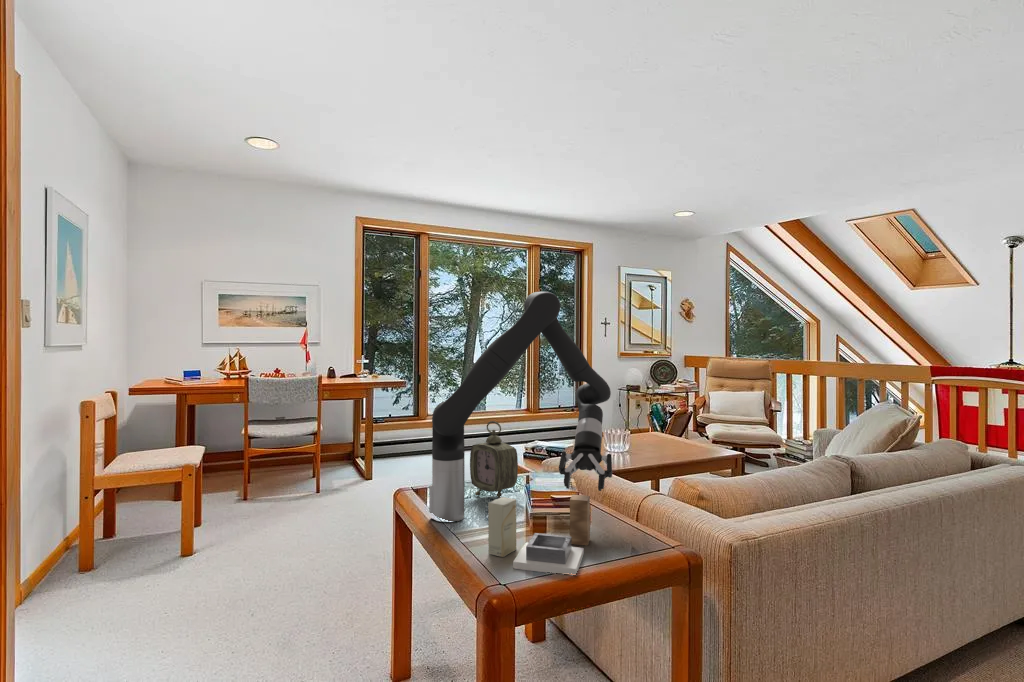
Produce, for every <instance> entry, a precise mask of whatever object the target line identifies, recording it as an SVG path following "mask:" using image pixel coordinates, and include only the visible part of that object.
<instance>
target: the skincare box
mask: <svg viewBox="0 0 1024 682" xmlns="http://www.w3.org/2000/svg"><path fill="white" fill-rule="evenodd" d="M487 504H488V507H487V508H488V516H487V519H488V529H487V531H488V536H487V537H488V554H489V555H493V556H497V557H500V558H504V557H506V556H508V555H509V554H511V553H512V552H514V551H516V550H517V499H515V498H510V497H504V496H501V497H500V498H498V497H497V498H496V499H493V500H491V501H489V502H488V503H487Z"/></svg>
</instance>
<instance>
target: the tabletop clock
mask: <svg viewBox="0 0 1024 682" xmlns="http://www.w3.org/2000/svg"><path fill="white" fill-rule="evenodd" d="M490 424H495V425H496V426H498V427H499V431H497V432H496V430H495V429H492V431H491V430H490V429H489V425H490ZM486 430H487V432H488V433H489V434H490V435H489V436H488V437H487V438H486V440H485V442H482V443H481V442H480V443H475V444H472V446H471V448H470V453H469V454H470V455H469V474H470V481H471V484H472V485H473V486H474V487H476V488H477V489H479V490H477V491H475V493H474V494H475V496H476V495H481V492H482V491H484V492H490V493H495V492H497V493H496V497H497V496H498V497H497V499H498V498H501V497H502V491H503V490H506V489H507V490H508V489H511V488H514V487H515V485H516V483H517V481H518V476H519V475H518V473H519V472H518V471H519V470H518V469H519V460H518V452H517V449H516V448H515V447H514V446H513V445H510V444H508V443H505V442H502V439H501V437H500V435H499V434H501V431H502V426H501V425H500V423H499V422H497V421H495V420H490V421H488V423H487V425H486ZM500 496H501V497H500Z"/></svg>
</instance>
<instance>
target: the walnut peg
mask: <svg viewBox="0 0 1024 682" xmlns="http://www.w3.org/2000/svg"><path fill="white" fill-rule="evenodd" d="M590 499H591V497H590V495H583V494H580V495H579V494H572V495H571V496H570V499H569V536H571V537H572V545H579V546H589V543H590V541H591V525H590V524H591V523H590V522H591V510H590V509H591V505H590V504H591V501H590Z"/></svg>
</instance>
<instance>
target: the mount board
mask: <svg viewBox="0 0 1024 682" xmlns="http://www.w3.org/2000/svg"><path fill="white" fill-rule="evenodd" d="M572 545H573V544H572V537H571V536H570V535H561V534H559V535H557V534H550V533H540V532H539V533H538V532H534V533H533V535H532V537H531V539H530V540H529V542H528V541H526V542H525V543H524V545H523V546H522V547H521V549H520V550H519V552H518V554H517V555H516V557H515V558H514V559H513V561H512V569H514V570H522V571H531V572H539V573H540V572H541V573H547V572H550V573H549V574H556V573H569V574H571V573H572V574H576V573H577V574H578V572H577V571H579V569H580V566H581V563H582V561H583V557H584V555H585V553H584V552H585V551H584V547H577V546H572ZM551 572H552V573H551Z"/></svg>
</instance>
